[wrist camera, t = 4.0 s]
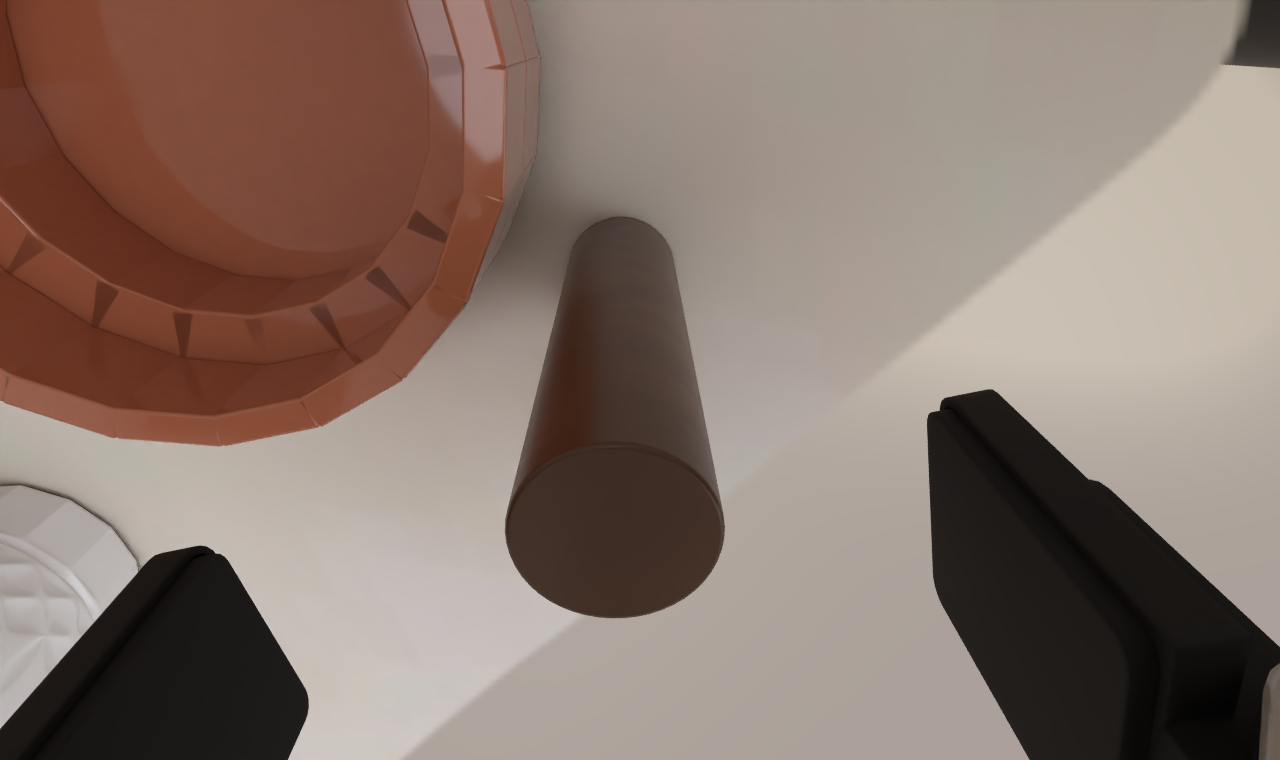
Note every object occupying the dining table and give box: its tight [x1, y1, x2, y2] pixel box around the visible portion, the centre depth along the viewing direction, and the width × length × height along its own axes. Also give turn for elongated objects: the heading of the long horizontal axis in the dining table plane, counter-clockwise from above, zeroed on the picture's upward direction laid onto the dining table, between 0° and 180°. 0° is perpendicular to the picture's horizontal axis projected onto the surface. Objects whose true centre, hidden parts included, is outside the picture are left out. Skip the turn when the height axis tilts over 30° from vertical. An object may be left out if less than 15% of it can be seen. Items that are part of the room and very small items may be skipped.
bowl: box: [0, 0, 540, 446], centre depth 15 cm, size 15×15×6 cm
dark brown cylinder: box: [505, 217, 725, 618], centre depth 15 cm, size 3×3×12 cm
